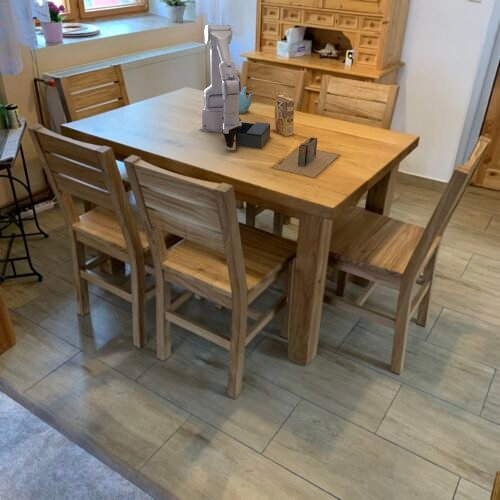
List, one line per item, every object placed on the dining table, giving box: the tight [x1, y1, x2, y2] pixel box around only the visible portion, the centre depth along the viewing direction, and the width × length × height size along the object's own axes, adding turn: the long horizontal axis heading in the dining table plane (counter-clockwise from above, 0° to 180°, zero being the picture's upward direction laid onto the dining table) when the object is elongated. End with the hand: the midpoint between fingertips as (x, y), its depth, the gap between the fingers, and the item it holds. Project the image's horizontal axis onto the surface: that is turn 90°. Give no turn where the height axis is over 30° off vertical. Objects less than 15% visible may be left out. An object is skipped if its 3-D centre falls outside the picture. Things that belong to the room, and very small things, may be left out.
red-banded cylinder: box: [226, 134, 237, 151], centre depth 198 cm, size 3×3×6 cm
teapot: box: [238, 86, 254, 115], centre depth 242 cm, size 15×15×10 cm
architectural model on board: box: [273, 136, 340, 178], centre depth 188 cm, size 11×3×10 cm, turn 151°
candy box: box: [273, 94, 296, 137], centre depth 214 cm, size 9×4×15 cm, turn 33°
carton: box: [236, 121, 271, 149], centre depth 207 cm, size 13×15×6 cm
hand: (231, 145), depth 199 cm, fingers closed on red-banded cylinder, 3 cm apart
